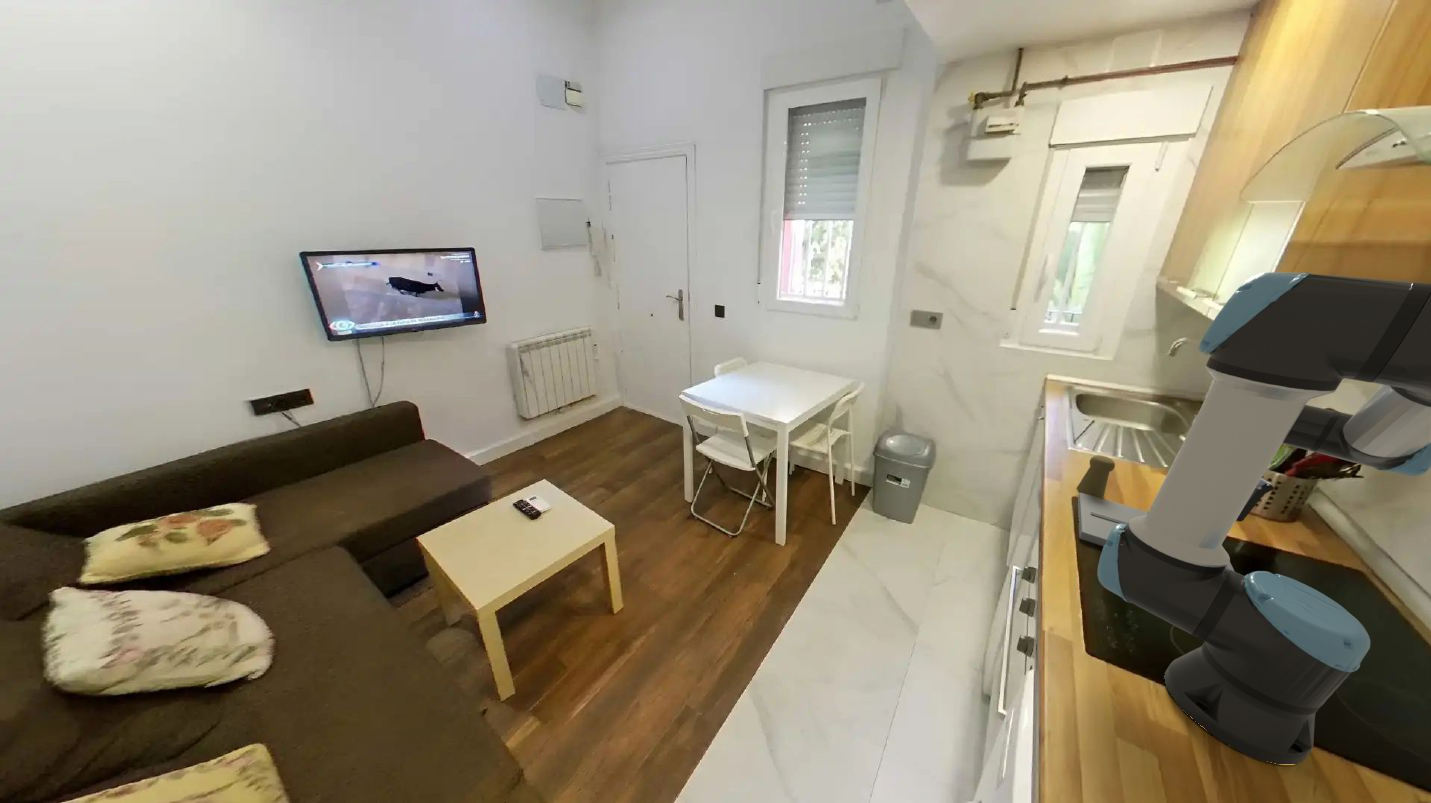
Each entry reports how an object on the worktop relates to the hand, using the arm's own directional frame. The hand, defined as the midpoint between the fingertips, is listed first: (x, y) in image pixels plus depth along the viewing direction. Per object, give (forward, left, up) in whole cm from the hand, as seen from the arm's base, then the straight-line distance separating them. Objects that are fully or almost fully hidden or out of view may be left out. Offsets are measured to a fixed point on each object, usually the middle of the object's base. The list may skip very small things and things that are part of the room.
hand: (1192, 536), depth 101 cm
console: (0, +7, -4) cm, 8 cm away
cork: (+16, +17, -4) cm, 24 cm away
